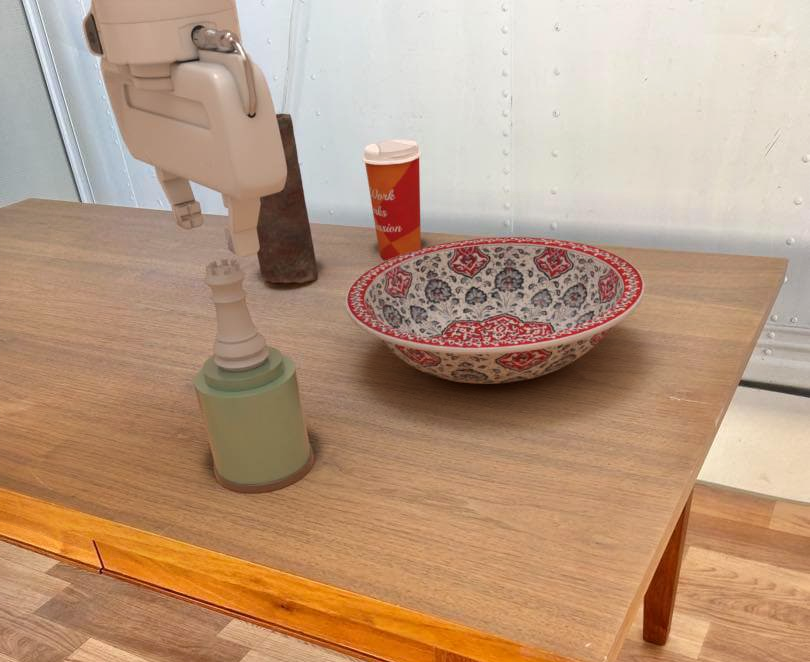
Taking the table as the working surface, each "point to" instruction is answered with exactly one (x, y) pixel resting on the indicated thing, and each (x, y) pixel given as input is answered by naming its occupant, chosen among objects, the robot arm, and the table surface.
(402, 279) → the ceramic bowl
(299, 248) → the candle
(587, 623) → the table surface
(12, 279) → the table surface
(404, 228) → the paper cup
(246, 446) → the upturned tumbler
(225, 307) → the rook chess piece
